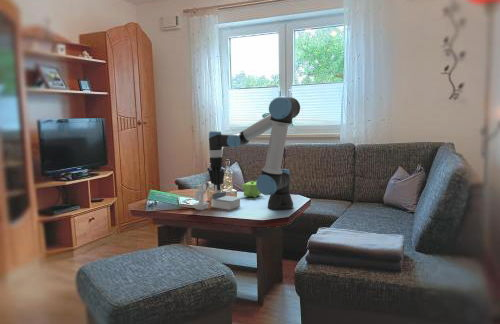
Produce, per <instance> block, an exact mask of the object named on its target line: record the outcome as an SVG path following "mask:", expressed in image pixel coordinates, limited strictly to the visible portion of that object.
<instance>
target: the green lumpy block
mask: <svg viewBox="0 0 500 324" xmlns="http://www.w3.org/2000/svg"><path fill="white" fill-rule="evenodd" d="M256 181H257V180H255V181H254V180H250V181H248V182H246V183H243V184H241V188H242V189H243V197H246V198H250V197H253V198H257V197H259V196H260V195H261V194H262V193H260V192H259V190H258V189H257V186H256Z"/></svg>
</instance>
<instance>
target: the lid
mask: <svg viewBox="0 0 500 324" xmlns="http://www.w3.org/2000/svg"><path fill="white" fill-rule="evenodd" d="M212 199H213V200H219V201H226V202H234V201H237V200H240V201H241V200H243V197H240V196H234V195H233V196H232V195H227V193H226V190H223V191H220V192H219V193H216V194H215V193H213V194H212Z"/></svg>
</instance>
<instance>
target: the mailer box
mask: <svg viewBox="0 0 500 324" xmlns="http://www.w3.org/2000/svg"><path fill="white" fill-rule="evenodd" d="M210 201H211V203H210V204H211V208H216V209H223V210H234V209H237V208H239V207H241V199H240V200H237V201H234V202H226V201H219V200H213V198H212V199H210Z"/></svg>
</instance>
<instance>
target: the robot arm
mask: <svg viewBox="0 0 500 324" xmlns="http://www.w3.org/2000/svg"><path fill="white" fill-rule="evenodd" d="M268 112H269V114H267V115H266V116H265V117H263V118H262V119H261V118H260V119H259V120H258V121H256V122H255V123H253V124H251V125H250V126H249V127H247V128H245V129H244V130H242V131H240V132H239V133H231V134H230V133H228V134H225V133H224V134H223V133H222V131H220V130H212V131H211V130H210V131H209V132H208V144H209V145H208V146H209V150H208V151H209V164H210V165H209V167H207V172H208V175H209V179H210V183H211V184H212V185H213V190H214V194H216V193H219V192H221V185H222V184H224V178H225V173H226V171H227V170H226V169H227V168H224V167H223V157H222V156H223V148H238V147H239V146H246V145H248V144H249V143H250V141H252V140H254V139H255V138H257V137H259V136H260V135H263V134H264V133H266V132H268V131H269V130H270V136H269V142H268V148H267V154H266V158H265V164H264V167H262V168H261V172H260V175H259V176H258V177H257V178H256V180H255V181H256V186H257V189H258V190H259V192H260V193H261V194H262V195H264V196H269V199H268V201H267V208H268V209H269V210H270V209H271V210H275V211H276V210H277V211H284V209H287V210H291V209H293V208H294V202H293V198H292V196H291V195H292V194H291V171H290V169H288V168H281V167H282V161H283V158H284V157H283V156H284V151H285V145H286V139H287V135H288V129H289V127H290V126H291V125H292V122H293V119H294V118H296V117H297V116H298V115H299V114H300V112H301V105H300V102H299V101H298V100H297V98H295V97H289V96H277V97H274V98H273V99H272V100H271V101H270V102H269V105H268ZM292 207H293V208H292ZM290 208H291V209H290Z"/></svg>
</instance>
